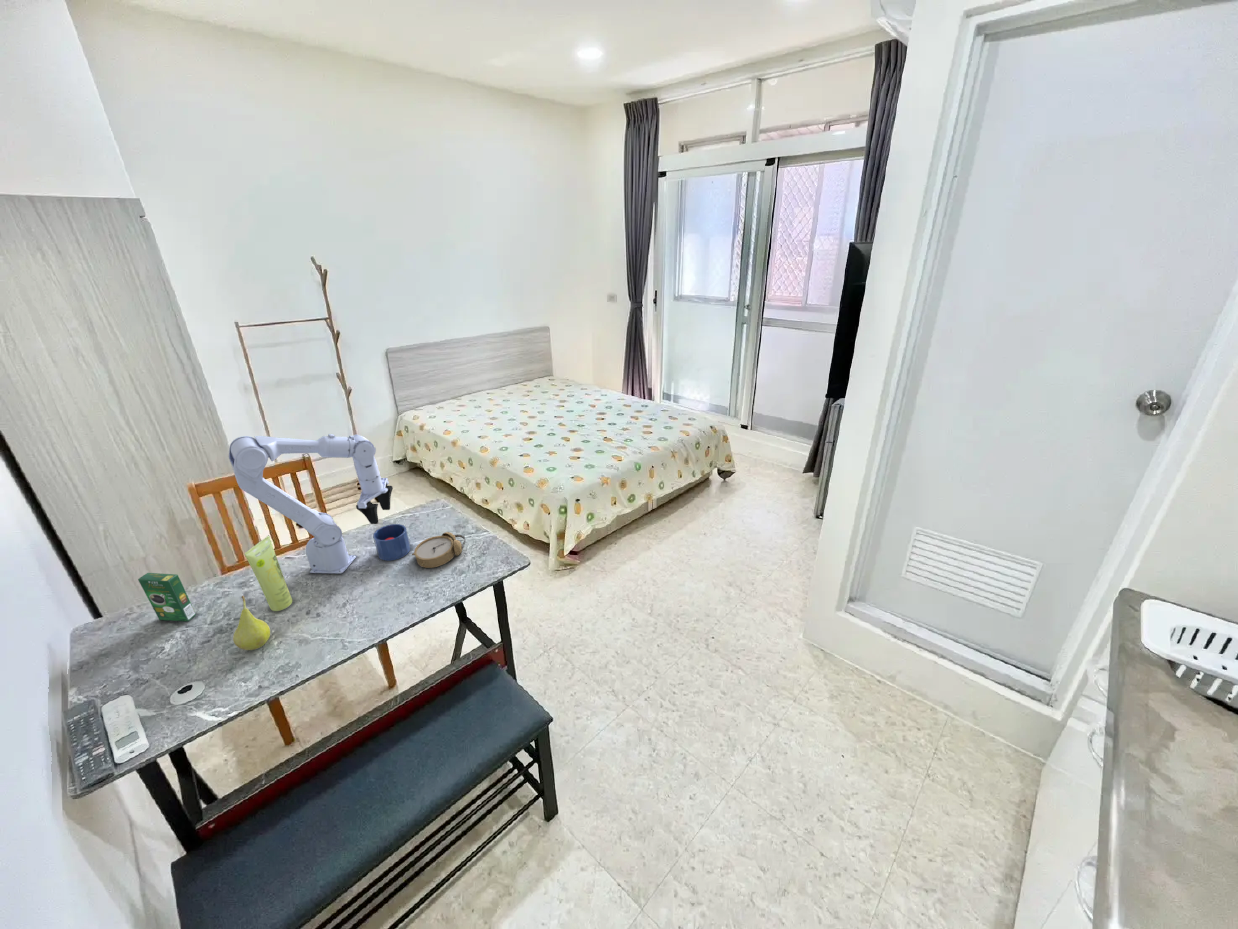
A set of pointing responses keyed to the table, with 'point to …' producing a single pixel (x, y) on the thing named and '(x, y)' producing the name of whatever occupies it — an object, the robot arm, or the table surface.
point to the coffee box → (167, 596)
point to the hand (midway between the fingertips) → (380, 516)
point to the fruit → (250, 631)
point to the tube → (269, 574)
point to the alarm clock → (438, 550)
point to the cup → (391, 542)
